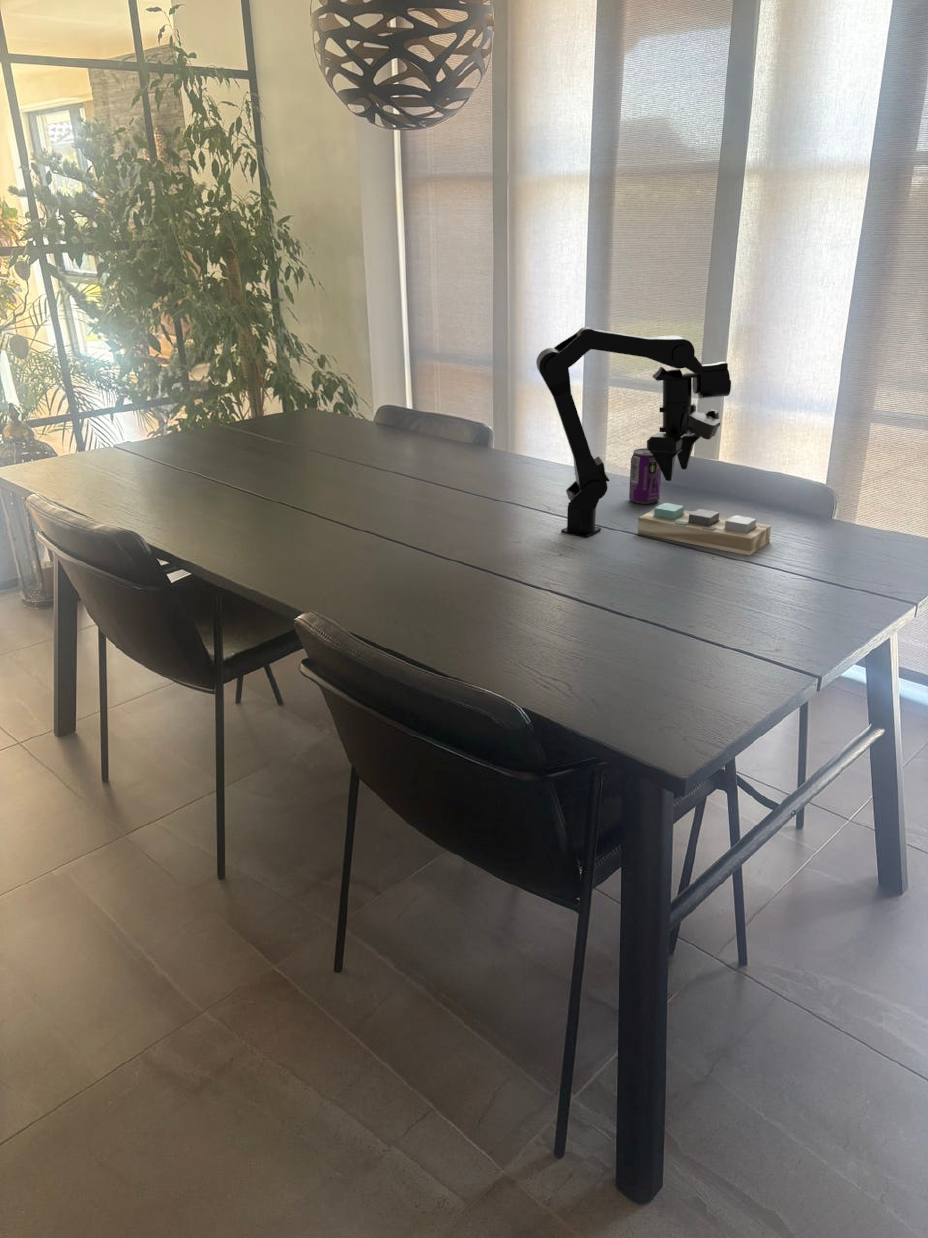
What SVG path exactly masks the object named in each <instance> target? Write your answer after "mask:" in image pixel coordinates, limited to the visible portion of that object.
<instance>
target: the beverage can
mask: <svg viewBox="0 0 928 1238" xmlns="http://www.w3.org/2000/svg"><path fill="white" fill-rule="evenodd" d="M661 475H662V471H661V469H660V467H659V465H658V463H657V461H656V460H655V458H654V456H653V455H652V453H650V451H648V450H647V447H646V448H636V449H634V450H633V453H632V455H631V457H630V471H629V491H628V493H629V494H628V499H629V500H631V501H632V502H634V503H635V502H636V503H635V504H639V503H641V504H640V505H650V503H651V504H654V503H656V502H657V501H659V500H660V498H661V495H660V494H661V482H662V481H661V479H662V478H661V477H662V476H661Z"/></svg>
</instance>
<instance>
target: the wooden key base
mask: <svg viewBox="0 0 928 1238" xmlns="http://www.w3.org/2000/svg"><path fill="white" fill-rule="evenodd" d="M692 512H693V511H690V510H685V509H684V515H683V516H681V517H679V518H678V519H676V520H670V519H665V518H659V517H654V509H653V510H651V511H648V512H646V513H645V514H643V515H640V516H639V517H638V519H637V521H638V523H637V525H638V526H637V534H641V535H645V536H650V537H656V538H660V539H665V540H670V541H675V542H682V543H685V544H691V545H695V546H701V547H704V548H705V547H706V548H711V549H715V550H721V551H726V552H731V553H737V554H740V555H745V556H751V555H752V554H754V553H755V552H757V551H758V550H760V549H762V548H763V547H764V546H766V545H767V544H769V542H770V541H771V530H772V525H769V524H764V523H757V522H756V528H755V529H754V530H752V531H751V532H749V533H748V534H746V533H740V532H735V531H729V530H725V521H726V520H727V519H729V518H730V517H724V516H719V522H717V523H716V524H714V525H712V526H710V527H709V526H703V525H697V524H692V523H688V522H689V514H690V513H692Z"/></svg>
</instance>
